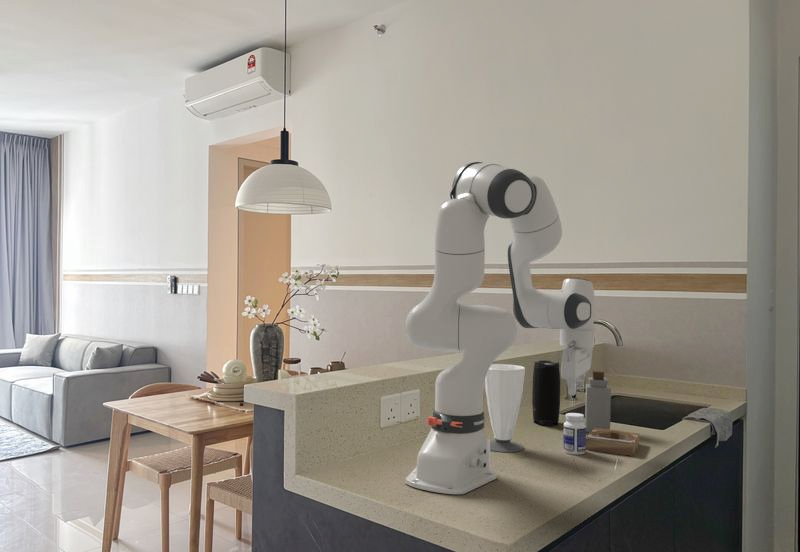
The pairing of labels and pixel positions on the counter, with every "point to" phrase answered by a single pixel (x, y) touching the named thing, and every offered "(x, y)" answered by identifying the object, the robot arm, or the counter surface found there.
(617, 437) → the jig
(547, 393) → the portable speaker
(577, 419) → the pill bottle
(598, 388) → the perfume bottle
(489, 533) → the counter surface
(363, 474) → the counter surface
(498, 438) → the cup
